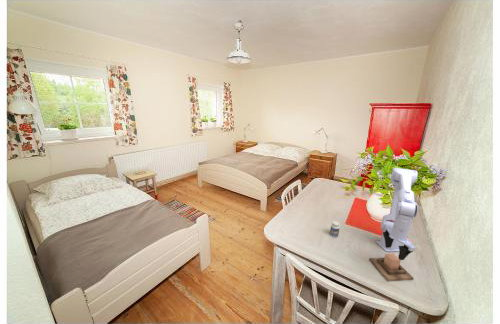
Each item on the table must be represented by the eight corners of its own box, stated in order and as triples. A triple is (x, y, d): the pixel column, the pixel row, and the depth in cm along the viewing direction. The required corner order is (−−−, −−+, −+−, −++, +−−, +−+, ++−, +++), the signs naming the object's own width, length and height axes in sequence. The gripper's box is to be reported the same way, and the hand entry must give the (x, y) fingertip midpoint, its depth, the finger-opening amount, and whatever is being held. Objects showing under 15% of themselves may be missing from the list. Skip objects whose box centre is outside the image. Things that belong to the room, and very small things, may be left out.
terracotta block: (390, 263, 91) (393, 253, 90) (397, 270, 88) (400, 260, 86) (383, 264, 91) (385, 253, 90) (389, 271, 87) (392, 260, 86)
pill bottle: (329, 236, 112) (331, 224, 110) (329, 231, 117) (331, 219, 114) (338, 238, 111) (340, 225, 108) (338, 233, 115) (340, 221, 113)
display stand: (391, 259, 96) (393, 254, 95) (412, 279, 84) (414, 274, 84) (369, 260, 95) (370, 255, 94) (387, 281, 84) (388, 276, 83)
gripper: (380, 218, 90) (375, 242, 94) (407, 238, 76) (399, 265, 80) (394, 217, 91) (388, 242, 94) (423, 238, 77) (414, 265, 80)
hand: (394, 253), depth 87 cm, fingers open, 7 cm apart
